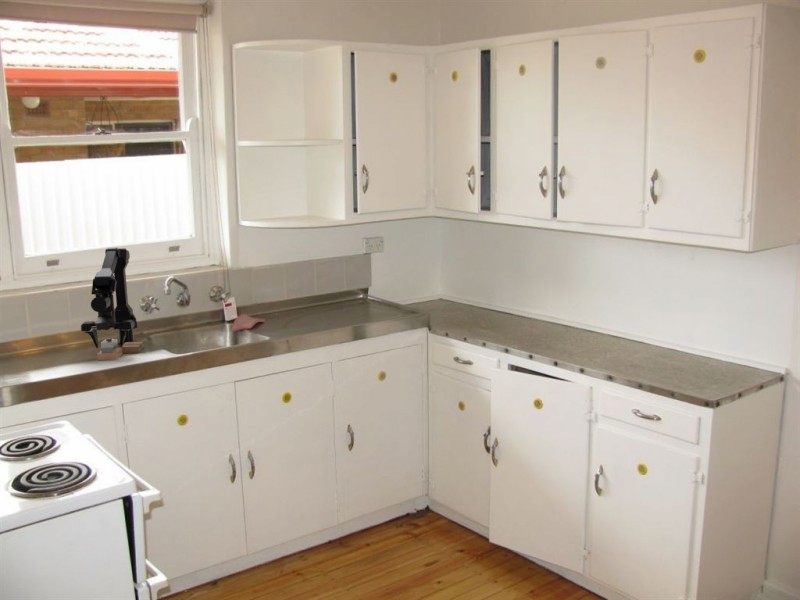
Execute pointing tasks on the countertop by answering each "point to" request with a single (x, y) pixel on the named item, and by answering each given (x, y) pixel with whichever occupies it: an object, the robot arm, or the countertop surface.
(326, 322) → the countertop surface
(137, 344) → the stand
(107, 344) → the housing
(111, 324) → the robot arm
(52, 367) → the countertop surface
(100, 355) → the stand
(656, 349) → the countertop surface
